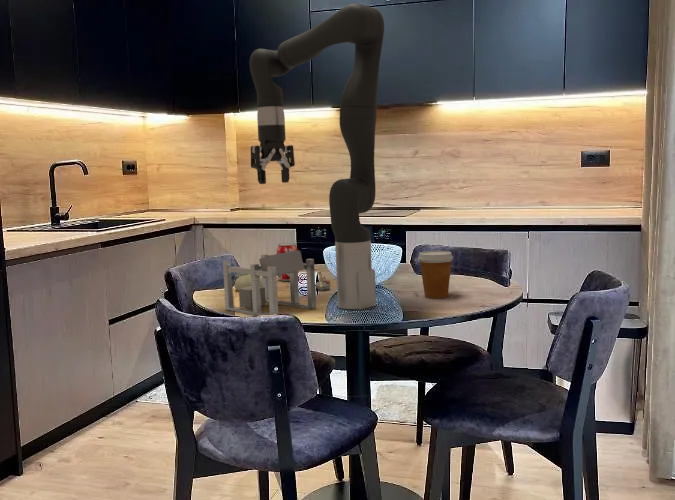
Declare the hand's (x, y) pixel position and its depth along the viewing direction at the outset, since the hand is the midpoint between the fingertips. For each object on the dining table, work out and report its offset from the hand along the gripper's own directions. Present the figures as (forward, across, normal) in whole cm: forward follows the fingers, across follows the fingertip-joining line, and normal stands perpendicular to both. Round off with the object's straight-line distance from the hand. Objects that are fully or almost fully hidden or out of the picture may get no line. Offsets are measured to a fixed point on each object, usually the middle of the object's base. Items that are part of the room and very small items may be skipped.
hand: (274, 183), depth 189 cm
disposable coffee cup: (+32, +24, -37) cm, 55 cm away
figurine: (+33, +15, -3) cm, 36 cm away
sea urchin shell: (+33, +4, +17) cm, 37 cm away
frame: (+32, -12, -10) cm, 36 cm away
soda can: (+33, +22, +19) cm, 44 cm away
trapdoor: (+24, -12, -10) cm, 29 cm away
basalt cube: (+30, -12, -5) cm, 33 cm away
